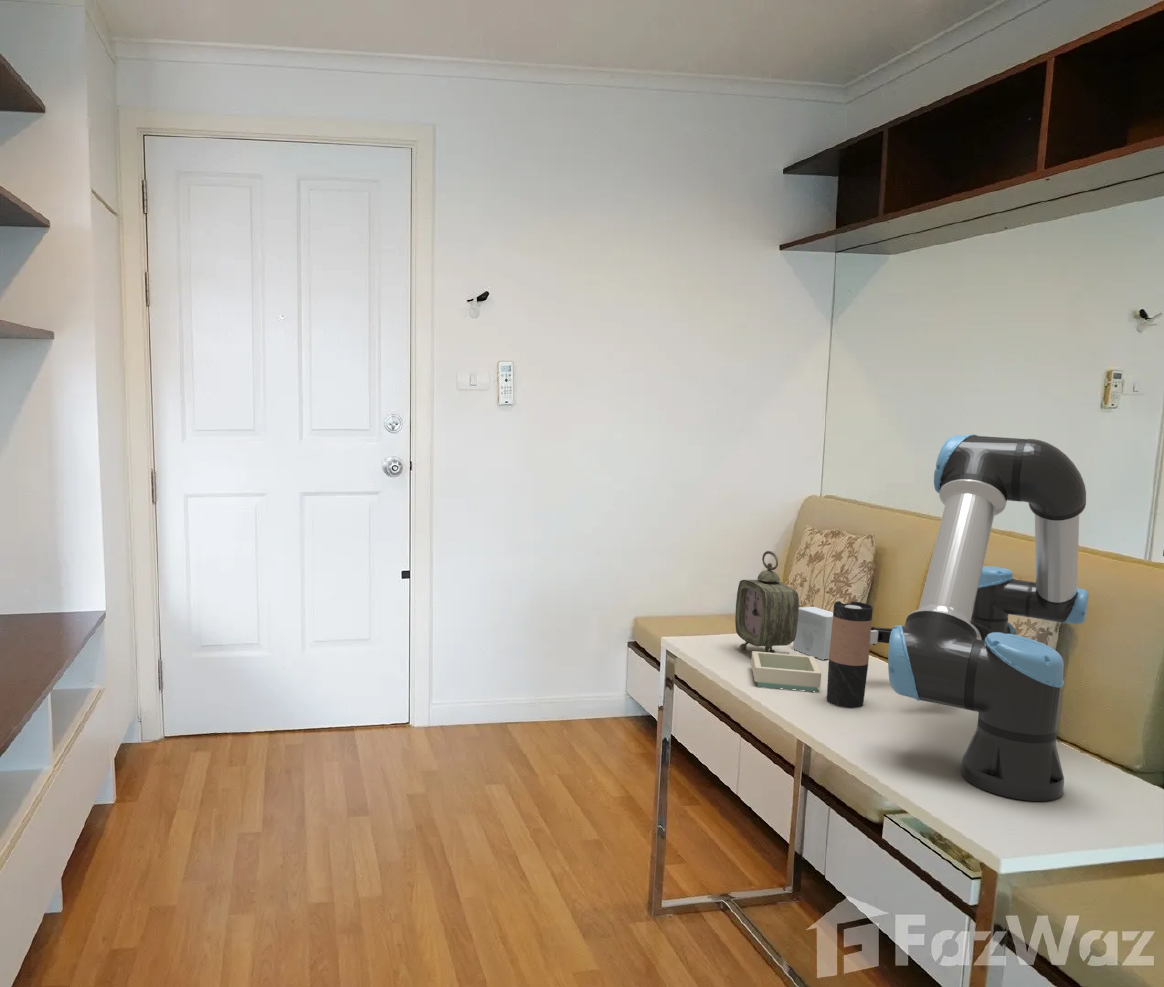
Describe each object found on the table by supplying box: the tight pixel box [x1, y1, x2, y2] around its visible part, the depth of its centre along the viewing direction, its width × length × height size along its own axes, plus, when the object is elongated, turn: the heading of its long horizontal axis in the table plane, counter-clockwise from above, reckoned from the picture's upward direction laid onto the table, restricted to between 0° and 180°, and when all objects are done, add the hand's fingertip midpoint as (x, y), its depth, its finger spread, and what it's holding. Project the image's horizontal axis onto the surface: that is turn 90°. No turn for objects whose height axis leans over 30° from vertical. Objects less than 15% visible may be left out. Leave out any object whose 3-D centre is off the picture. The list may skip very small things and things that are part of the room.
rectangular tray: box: [750, 650, 822, 693], centre depth 204 cm, size 18×13×4 cm
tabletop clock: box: [734, 550, 800, 653], centre depth 220 cm, size 14×9×25 cm, turn 17°
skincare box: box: [792, 606, 833, 661], centre depth 226 cm, size 10×6×10 cm, turn 29°
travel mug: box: [826, 600, 874, 709], centre depth 189 cm, size 8×8×20 cm
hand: (874, 647), depth 192 cm, fingers open, 13 cm apart
